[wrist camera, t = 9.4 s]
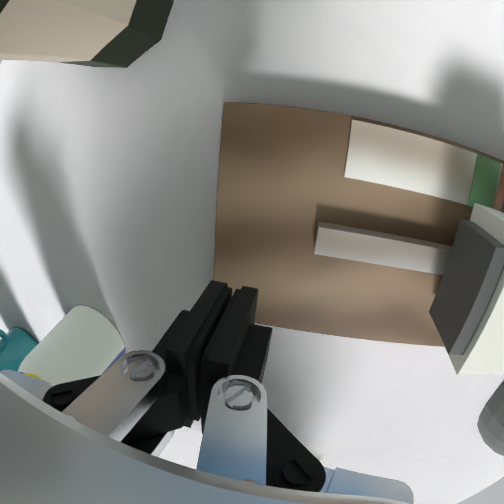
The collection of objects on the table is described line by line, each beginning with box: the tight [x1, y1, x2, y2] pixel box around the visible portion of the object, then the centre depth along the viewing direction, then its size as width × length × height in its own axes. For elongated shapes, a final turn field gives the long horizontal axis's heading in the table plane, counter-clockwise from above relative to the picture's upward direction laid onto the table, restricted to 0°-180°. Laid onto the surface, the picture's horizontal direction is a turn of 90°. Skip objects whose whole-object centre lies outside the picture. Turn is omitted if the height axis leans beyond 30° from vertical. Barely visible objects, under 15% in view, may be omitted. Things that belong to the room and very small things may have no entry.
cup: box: [0, 328, 38, 372], centre depth 28 cm, size 9×12×11 cm
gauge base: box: [214, 102, 504, 347], centre depth 13 cm, size 14×32×10 cm, turn 85°
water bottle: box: [18, 305, 125, 386], centre depth 17 cm, size 8×9×25 cm
